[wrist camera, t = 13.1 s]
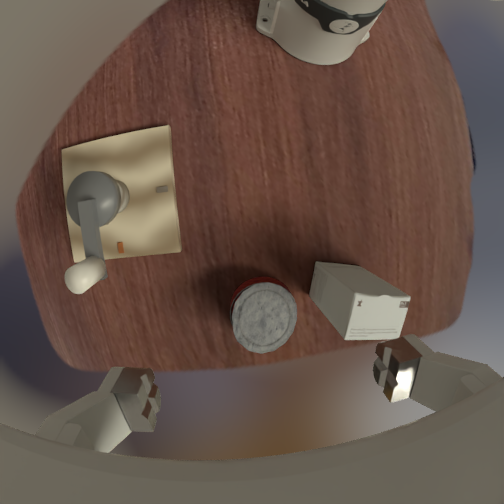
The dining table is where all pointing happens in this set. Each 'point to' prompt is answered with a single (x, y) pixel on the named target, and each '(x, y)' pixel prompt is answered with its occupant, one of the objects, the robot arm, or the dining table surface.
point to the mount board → (130, 192)
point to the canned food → (262, 314)
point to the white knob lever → (91, 224)
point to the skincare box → (358, 302)
